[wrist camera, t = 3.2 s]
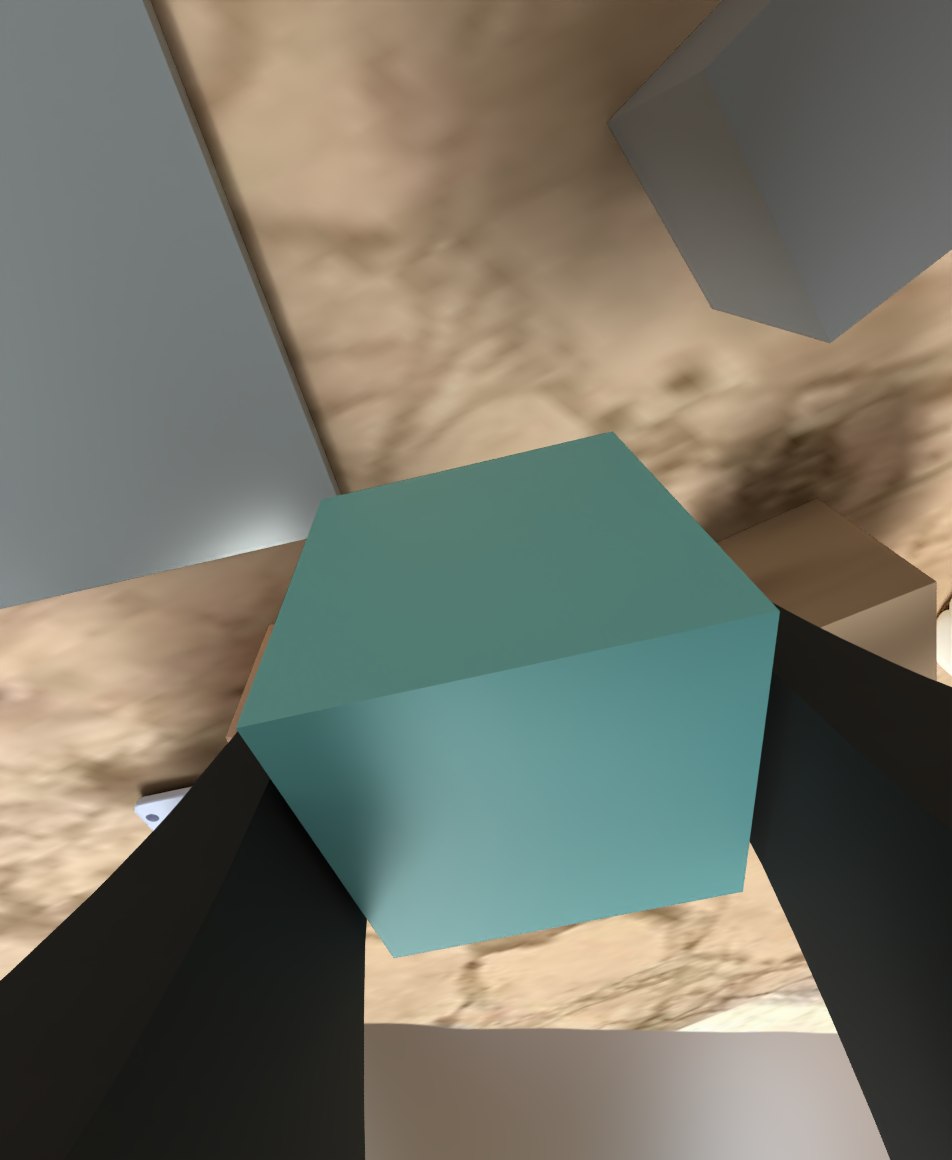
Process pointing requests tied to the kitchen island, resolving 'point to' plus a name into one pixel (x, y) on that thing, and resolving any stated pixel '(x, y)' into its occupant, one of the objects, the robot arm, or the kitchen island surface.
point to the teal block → (517, 697)
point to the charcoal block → (801, 155)
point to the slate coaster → (129, 322)
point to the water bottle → (945, 639)
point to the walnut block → (842, 583)
